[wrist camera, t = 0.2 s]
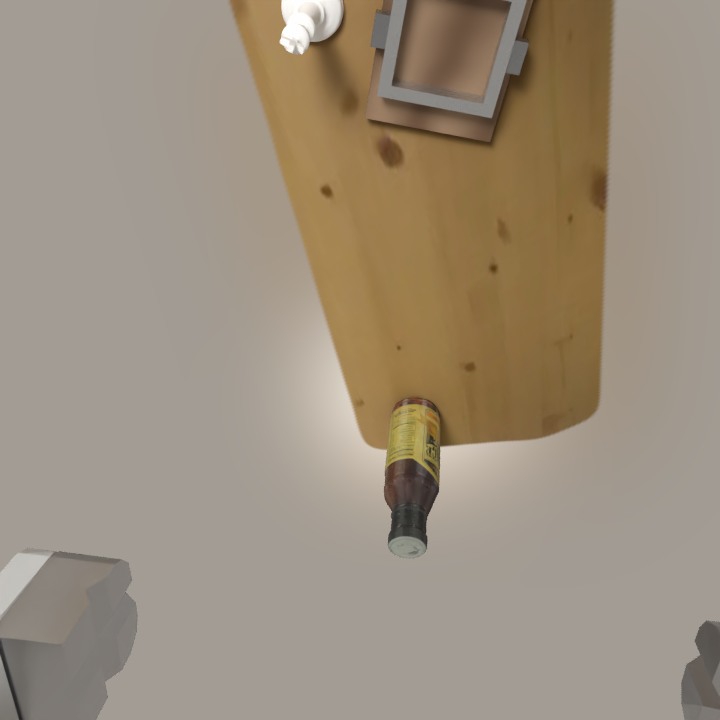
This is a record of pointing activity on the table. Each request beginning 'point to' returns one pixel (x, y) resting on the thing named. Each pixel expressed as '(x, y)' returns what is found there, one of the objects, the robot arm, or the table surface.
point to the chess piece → (309, 22)
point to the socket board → (444, 62)
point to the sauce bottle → (412, 474)
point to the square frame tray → (504, 61)
